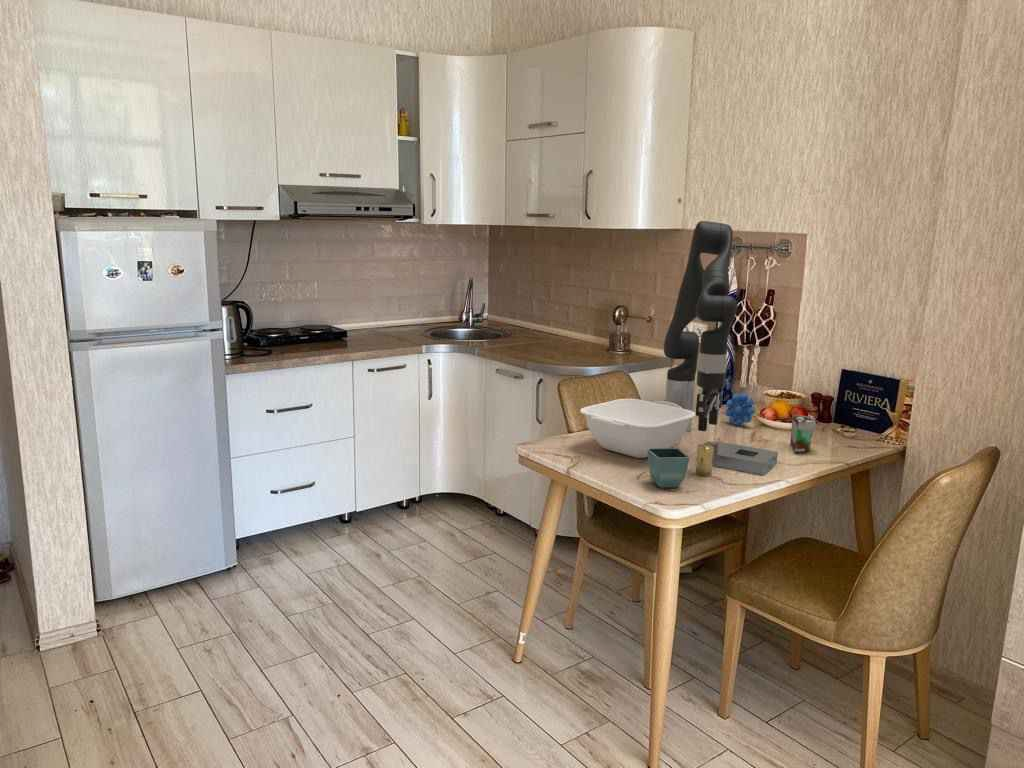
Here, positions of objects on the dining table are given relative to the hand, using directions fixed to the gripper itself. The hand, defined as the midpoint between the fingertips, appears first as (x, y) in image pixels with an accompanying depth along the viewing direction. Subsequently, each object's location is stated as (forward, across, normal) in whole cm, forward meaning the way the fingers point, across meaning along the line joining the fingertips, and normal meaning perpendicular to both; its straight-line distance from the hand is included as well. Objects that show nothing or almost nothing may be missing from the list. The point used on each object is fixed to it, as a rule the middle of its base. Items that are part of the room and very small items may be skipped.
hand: (707, 427), depth 214 cm
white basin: (+14, -10, -25) cm, 30 cm away
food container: (+14, -42, +17) cm, 47 cm away
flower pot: (+14, +15, -5) cm, 21 cm away
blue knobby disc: (+13, -60, -8) cm, 62 cm away
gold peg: (+14, 0, 0) cm, 14 cm away
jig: (+13, -16, +5) cm, 22 cm away
